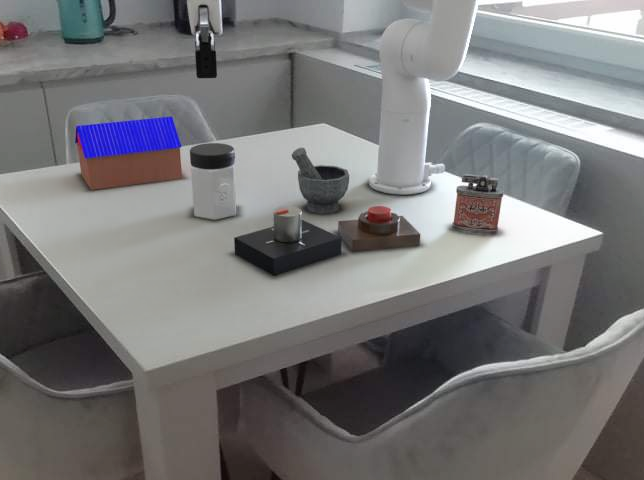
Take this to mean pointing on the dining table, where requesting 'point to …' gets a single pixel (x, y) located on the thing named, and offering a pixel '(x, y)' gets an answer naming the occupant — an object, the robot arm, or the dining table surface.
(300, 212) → the dial knob
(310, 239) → the control panel
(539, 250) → the dining table surface
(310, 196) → the mortar and pestle
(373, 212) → the button
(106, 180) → the house
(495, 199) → the lighter
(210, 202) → the jar
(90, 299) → the dining table surface
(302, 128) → the dining table surface
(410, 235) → the button block
